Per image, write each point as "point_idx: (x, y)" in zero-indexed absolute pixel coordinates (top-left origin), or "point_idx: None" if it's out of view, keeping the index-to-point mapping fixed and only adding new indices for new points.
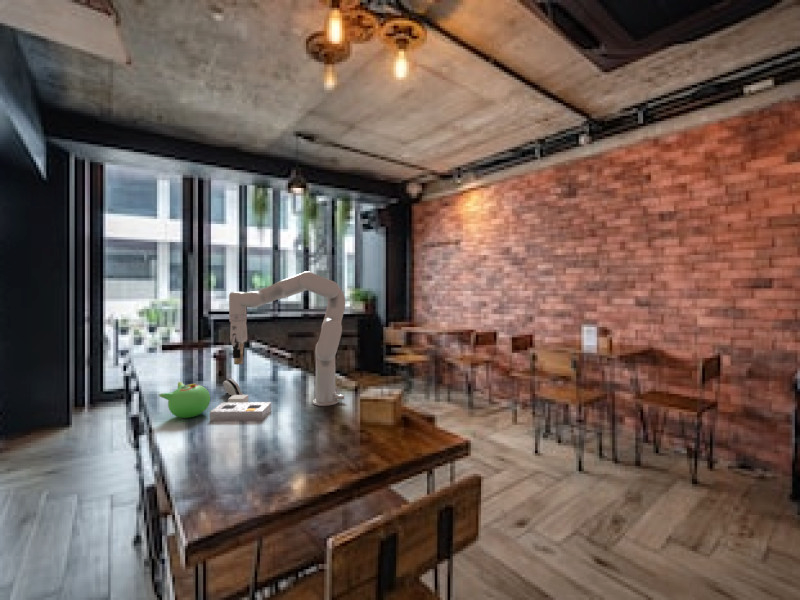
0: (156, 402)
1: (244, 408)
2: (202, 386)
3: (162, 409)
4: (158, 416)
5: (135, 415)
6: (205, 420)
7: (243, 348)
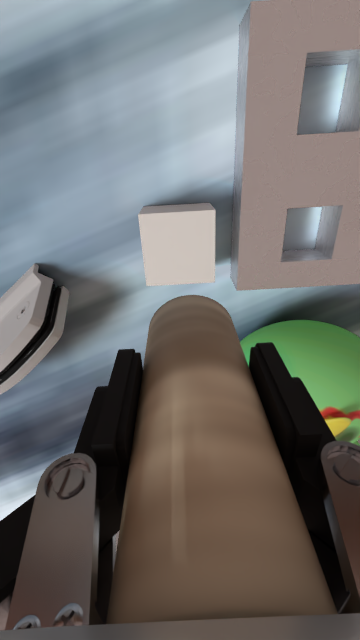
0: None
1: (355, 142)
2: None
3: None
4: None
5: None
6: (334, 288)
7: (112, 435)
